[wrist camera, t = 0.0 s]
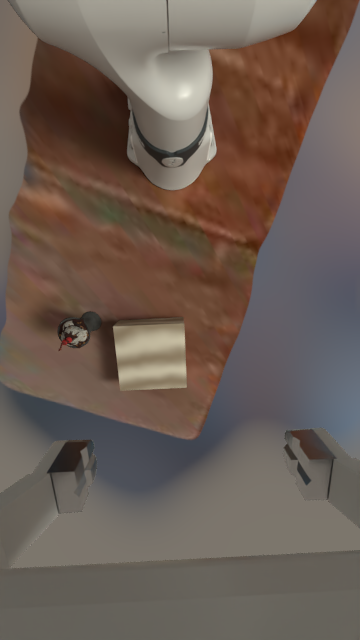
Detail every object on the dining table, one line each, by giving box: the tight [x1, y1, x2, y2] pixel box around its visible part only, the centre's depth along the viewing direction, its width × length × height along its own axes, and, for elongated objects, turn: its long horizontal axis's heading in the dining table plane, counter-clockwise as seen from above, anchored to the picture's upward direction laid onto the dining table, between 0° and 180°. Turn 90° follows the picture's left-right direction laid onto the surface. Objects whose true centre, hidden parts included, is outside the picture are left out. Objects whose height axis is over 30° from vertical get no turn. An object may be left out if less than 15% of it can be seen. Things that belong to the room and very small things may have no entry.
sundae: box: [58, 312, 101, 351], centre depth 50 cm, size 7×7×15 cm
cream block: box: [113, 317, 187, 391], centre depth 57 cm, size 16×16×6 cm
